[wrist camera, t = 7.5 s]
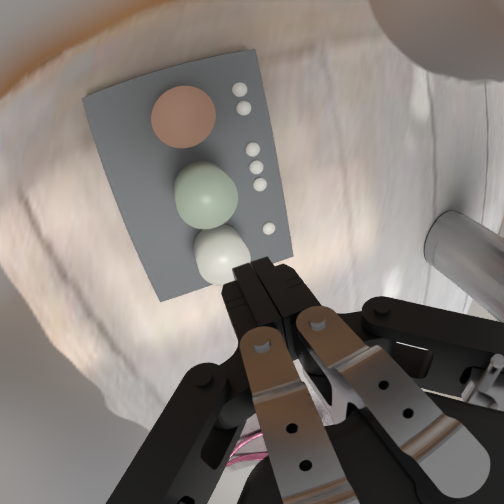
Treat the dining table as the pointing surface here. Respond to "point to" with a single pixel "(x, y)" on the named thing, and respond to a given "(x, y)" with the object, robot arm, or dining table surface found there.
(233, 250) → the cream button
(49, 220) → the dining table surface
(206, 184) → the sage button
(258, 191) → the charcoal panel
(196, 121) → the terracotta button
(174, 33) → the dining table surface
